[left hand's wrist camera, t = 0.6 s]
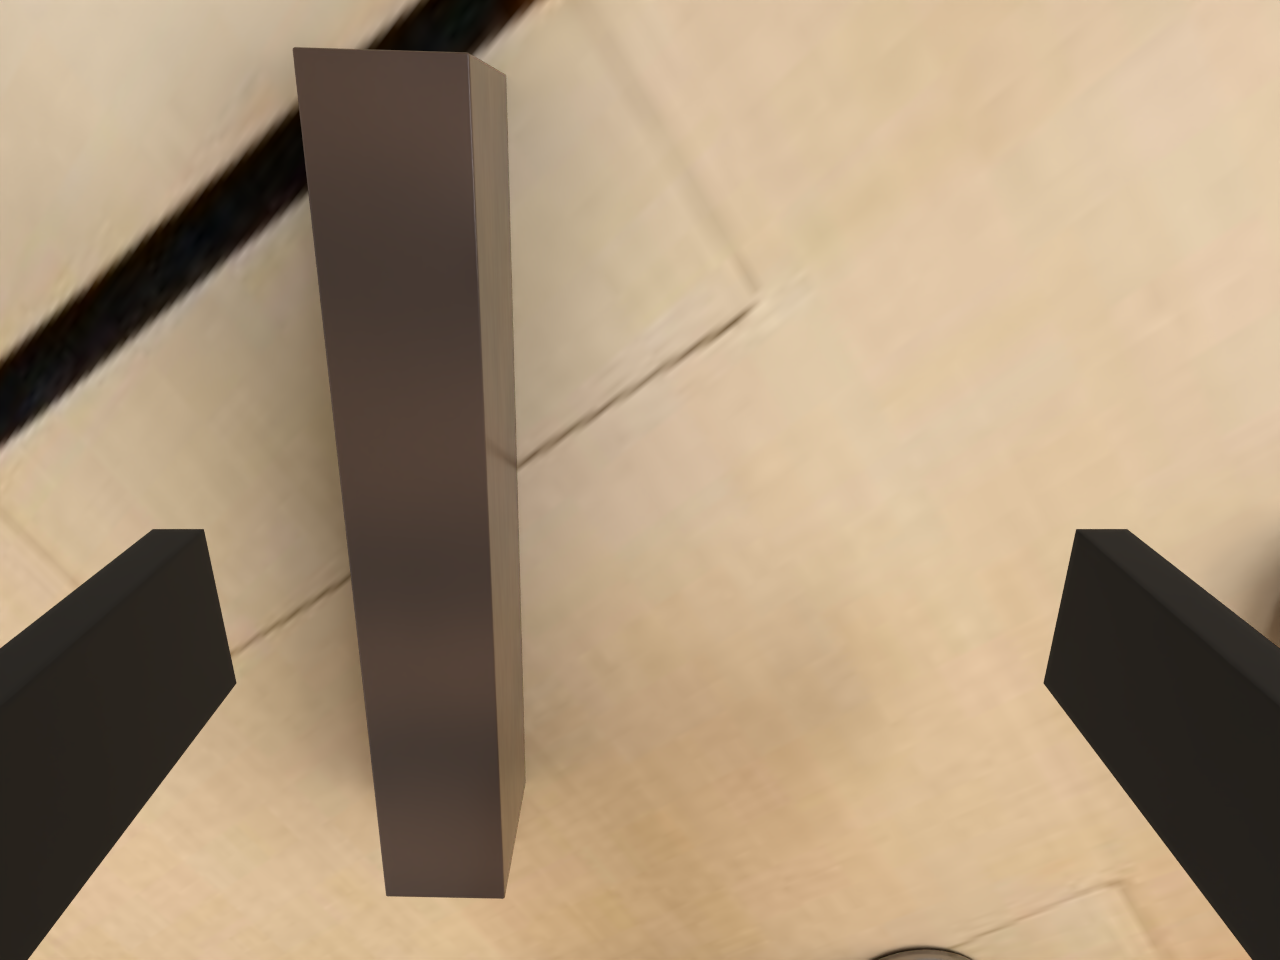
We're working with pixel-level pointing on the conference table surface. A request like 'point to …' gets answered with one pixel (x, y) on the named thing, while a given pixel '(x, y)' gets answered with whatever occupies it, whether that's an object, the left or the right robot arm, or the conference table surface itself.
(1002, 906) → the conference table surface
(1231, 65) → the conference table surface
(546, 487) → the conference table surface
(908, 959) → the right robot arm
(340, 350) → the plank
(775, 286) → the conference table surface
